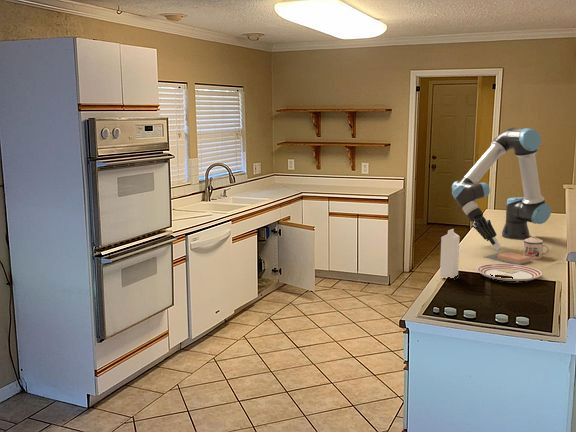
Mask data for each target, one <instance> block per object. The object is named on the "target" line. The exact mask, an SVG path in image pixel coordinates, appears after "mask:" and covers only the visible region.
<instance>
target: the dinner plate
mask: <svg viewBox="0 0 576 432" xmlns="http://www.w3.org/2000/svg"><path fill="white" fill-rule="evenodd" d="M503 270H511V271H515V272H511V273H510V272H507V271H503ZM476 271H477V272H478V273H479V274H480V275H482V276H484V277H487V278H489V279H491V278H492V279H491V280H494V279H497V280H503V281H516V282H515V283H520V282H519V281H525V282H529V281H533V280H536V279H538V278H540V277H541V276H542V275H543V273H542V270H539V269H537V268H534V267H531V266H526V265H523V264H522V265H515V264H509V263H489V264H488V263H487V264H486V263H485V264H483V265H482V264H481V265H479V266H477V267H476ZM490 274H491V275H493V276H491V275H490ZM497 274H498V275H499V274H508V275H510V276H512V277H513V279H512V278H501V277H495V275H497ZM497 280H496V281H497ZM503 281H502V282H503Z"/></svg>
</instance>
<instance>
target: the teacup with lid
mask: <svg viewBox="0 0 576 432" xmlns="http://www.w3.org/2000/svg"><path fill="white" fill-rule="evenodd" d="M543 247H545V248H546V249H547V251H546V252H545V253H543ZM549 251H550V247H549V245H546V244H544V241H543V240H542V239H540V238H538V237H537V235H531V236H529V238H527V239H523V254H522V255H525V256H529V257H530V260H531V259H532V260H539V259H542V258H543V256H545V255H547V254H549Z"/></svg>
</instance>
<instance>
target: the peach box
mask: <svg viewBox="0 0 576 432" xmlns="http://www.w3.org/2000/svg"><path fill="white" fill-rule="evenodd" d="M497 254H498V257H497V260H501V261H505V262H509V263H514V264H518V265H520V264H522V265H525V264H524V263H526V264H528V263H527V262H530V261H531V259H530V257H529V256H525V255H523V254H519V253H514V252H511V251H508V252H504V253H497ZM497 260H496V261H497ZM501 261H500V262H501ZM505 262H504V263H505ZM509 263H508V264H509ZM530 263H531V262H530Z"/></svg>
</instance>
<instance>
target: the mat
mask: <svg viewBox="0 0 576 432" xmlns="http://www.w3.org/2000/svg"><path fill="white" fill-rule="evenodd" d="M498 254H499V253H495V254H494V253H493V254H490V255H485V256H483V258H485V259H489V260H493V261H497V262H502V263H504V264H514V263H509V262H505V261H501V260H497V257H498ZM533 262H534V261H533V260H530V262H527V263H524V264H520V265H522V266H523V265H526V264H529V263H533ZM515 265H518V264H515Z"/></svg>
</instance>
